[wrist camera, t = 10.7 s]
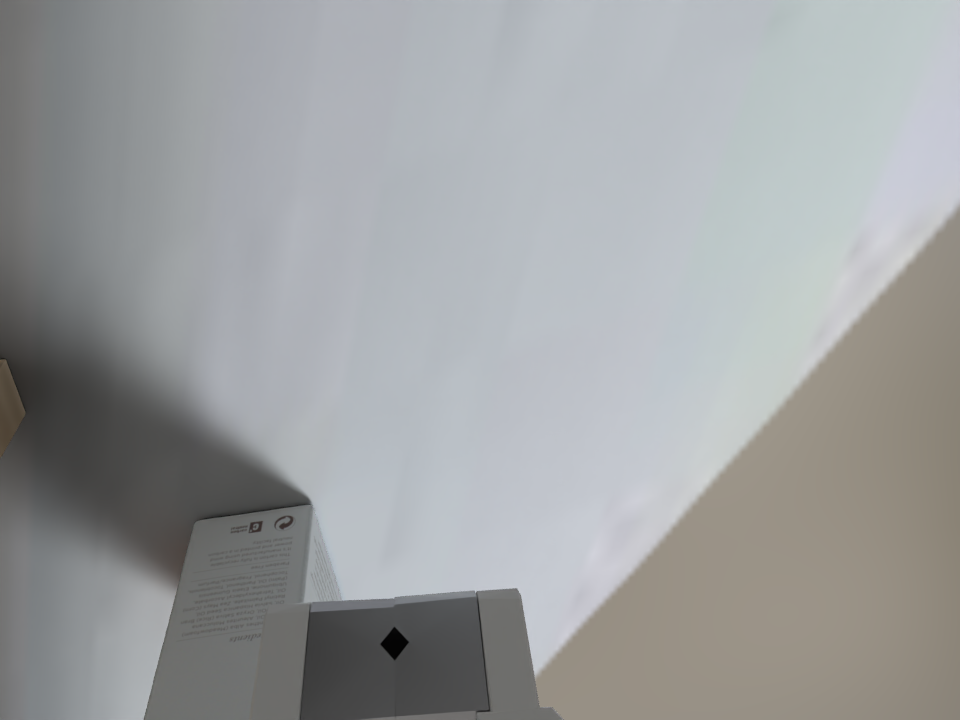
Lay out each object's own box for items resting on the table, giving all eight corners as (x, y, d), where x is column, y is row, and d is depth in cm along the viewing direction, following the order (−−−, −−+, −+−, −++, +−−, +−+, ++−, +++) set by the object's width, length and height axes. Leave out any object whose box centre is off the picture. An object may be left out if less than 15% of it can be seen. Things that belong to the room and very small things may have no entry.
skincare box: (190, 517, 29) (88, 896, 19) (314, 499, 29) (277, 867, 19) (238, 631, 33) (173, 1002, 23) (349, 614, 33) (333, 977, 23)
